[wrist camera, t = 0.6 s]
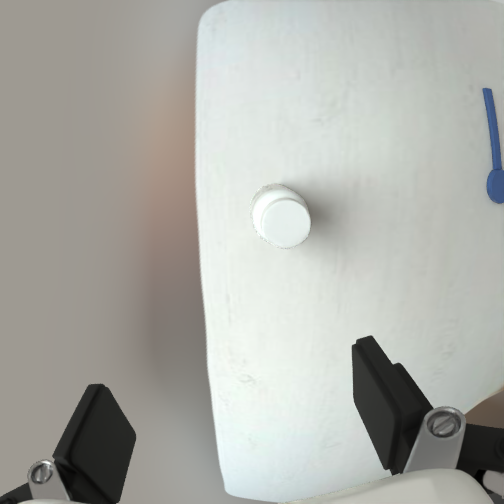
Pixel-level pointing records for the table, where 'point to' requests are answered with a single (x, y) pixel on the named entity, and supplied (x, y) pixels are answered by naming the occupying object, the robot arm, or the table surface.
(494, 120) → the spoon
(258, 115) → the table surface
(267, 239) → the pill bottle
